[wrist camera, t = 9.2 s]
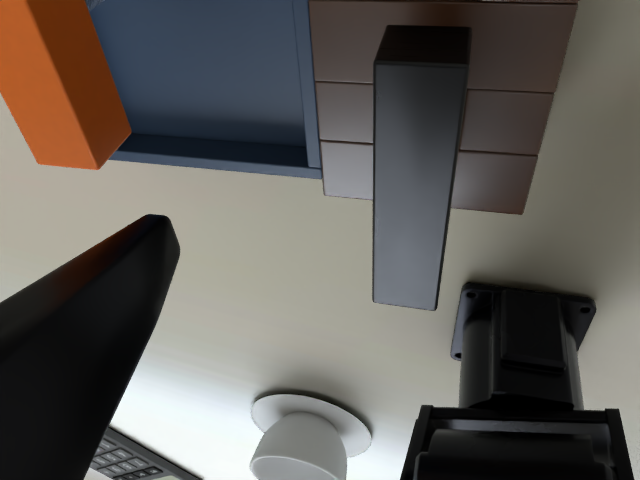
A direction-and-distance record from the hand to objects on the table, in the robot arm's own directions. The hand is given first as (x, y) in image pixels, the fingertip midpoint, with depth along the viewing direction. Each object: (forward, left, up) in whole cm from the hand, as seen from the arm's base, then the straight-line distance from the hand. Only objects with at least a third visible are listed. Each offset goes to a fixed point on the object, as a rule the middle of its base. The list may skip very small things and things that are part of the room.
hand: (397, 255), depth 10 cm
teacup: (-33, +8, -13) cm, 37 cm away
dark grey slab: (-2, 0, -13) cm, 13 cm away
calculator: (-50, +31, -13) cm, 60 cm away
